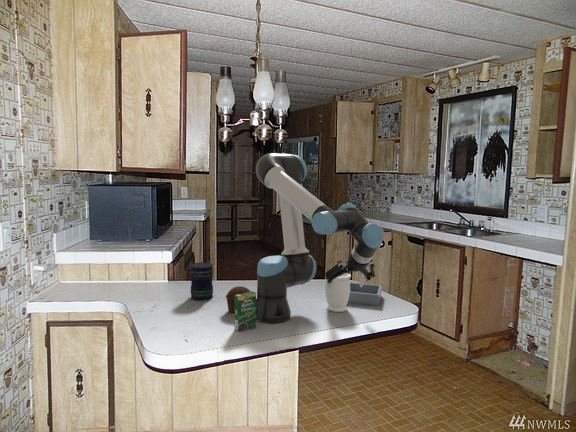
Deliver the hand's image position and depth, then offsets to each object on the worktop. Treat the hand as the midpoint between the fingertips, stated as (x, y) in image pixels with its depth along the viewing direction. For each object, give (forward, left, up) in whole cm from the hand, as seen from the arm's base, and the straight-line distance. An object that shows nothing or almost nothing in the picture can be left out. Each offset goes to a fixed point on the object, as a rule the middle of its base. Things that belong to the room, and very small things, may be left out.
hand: (344, 284), depth 166 cm
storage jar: (-63, -1, -12) cm, 65 cm away
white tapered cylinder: (-3, +5, -12) cm, 13 cm away
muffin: (-40, -12, -12) cm, 44 cm away
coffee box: (-31, -28, -12) cm, 44 cm away
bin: (+5, +22, -12) cm, 26 cm away
